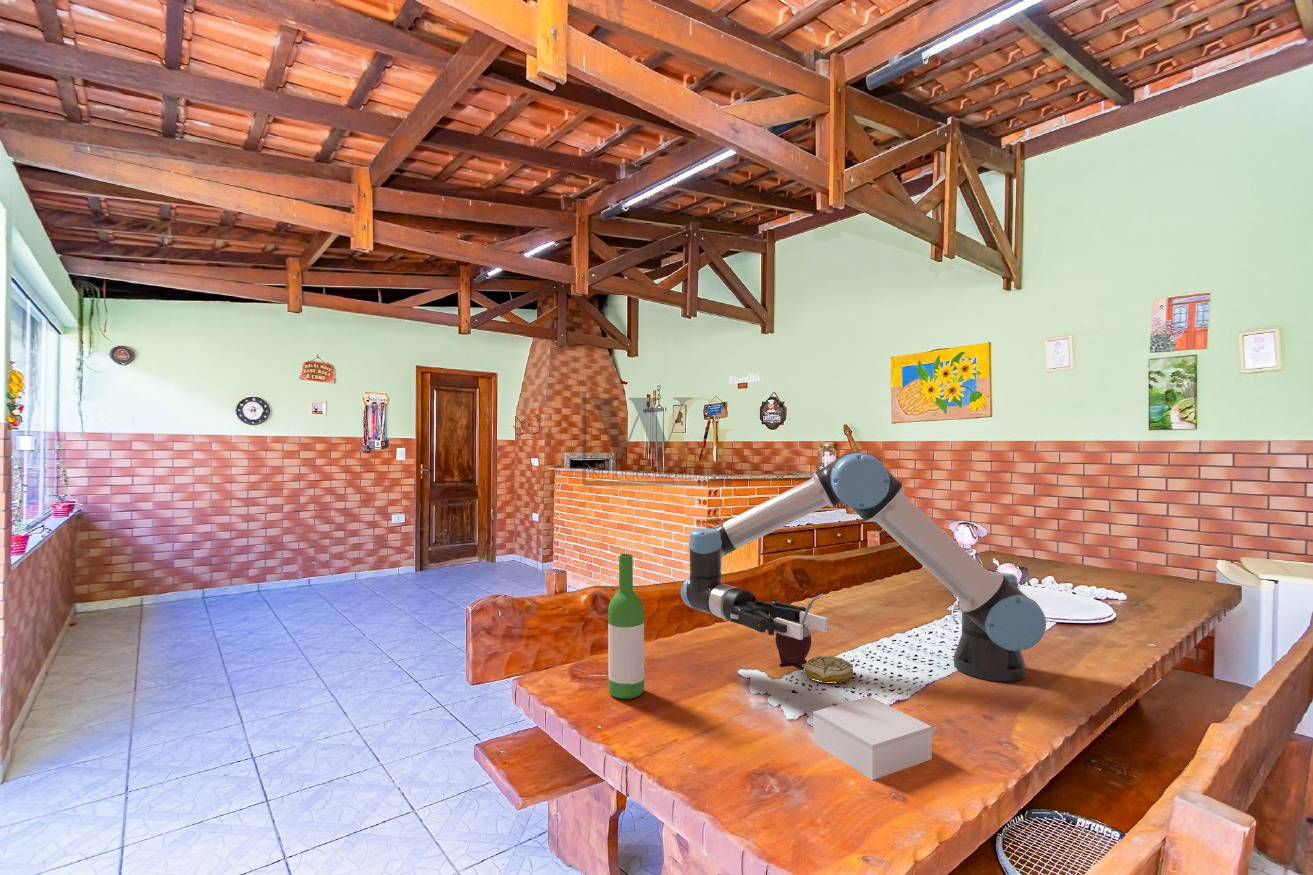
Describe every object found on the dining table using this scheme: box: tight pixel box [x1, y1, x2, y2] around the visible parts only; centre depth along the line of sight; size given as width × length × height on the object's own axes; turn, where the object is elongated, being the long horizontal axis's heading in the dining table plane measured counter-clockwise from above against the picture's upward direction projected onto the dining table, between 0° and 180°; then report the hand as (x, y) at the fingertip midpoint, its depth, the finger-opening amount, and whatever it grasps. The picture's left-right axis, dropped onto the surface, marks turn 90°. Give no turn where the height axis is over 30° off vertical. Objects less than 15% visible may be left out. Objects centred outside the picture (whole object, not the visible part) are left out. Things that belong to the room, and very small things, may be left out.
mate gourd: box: [775, 592, 824, 671], centre depth 128 cm, size 8×8×15 cm
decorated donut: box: [803, 655, 854, 684], centre depth 145 cm, size 10×11×4 cm
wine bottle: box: [607, 553, 645, 700], centre depth 136 cm, size 8×8×30 cm
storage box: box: [812, 696, 933, 781], centre depth 111 cm, size 14×14×6 cm
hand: (813, 628), depth 123 cm, fingers closed on mate gourd, 7 cm apart
